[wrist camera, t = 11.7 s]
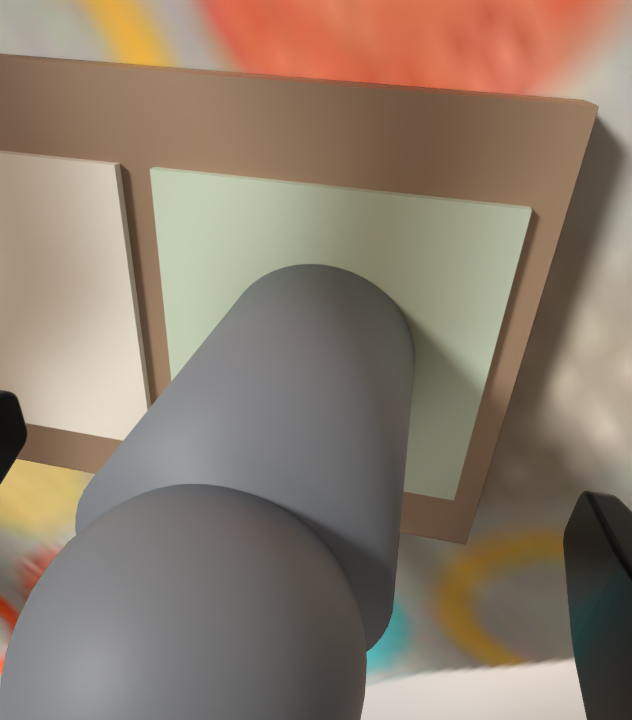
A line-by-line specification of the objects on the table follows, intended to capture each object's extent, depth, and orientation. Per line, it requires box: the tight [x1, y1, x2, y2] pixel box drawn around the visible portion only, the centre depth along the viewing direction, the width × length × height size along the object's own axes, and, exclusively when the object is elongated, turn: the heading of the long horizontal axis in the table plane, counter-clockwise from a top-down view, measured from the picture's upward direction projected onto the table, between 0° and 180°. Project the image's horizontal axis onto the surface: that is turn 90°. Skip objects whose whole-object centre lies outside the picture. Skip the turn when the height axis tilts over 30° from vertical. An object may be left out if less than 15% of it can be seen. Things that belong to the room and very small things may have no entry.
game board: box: [0, 54, 599, 545], centre depth 13 cm, size 23×10×1 cm, turn 86°
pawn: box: [0, 264, 415, 720], centre depth 8 cm, size 4×4×8 cm
